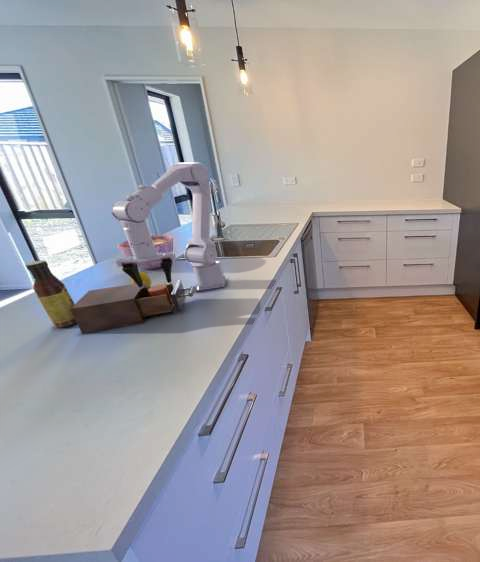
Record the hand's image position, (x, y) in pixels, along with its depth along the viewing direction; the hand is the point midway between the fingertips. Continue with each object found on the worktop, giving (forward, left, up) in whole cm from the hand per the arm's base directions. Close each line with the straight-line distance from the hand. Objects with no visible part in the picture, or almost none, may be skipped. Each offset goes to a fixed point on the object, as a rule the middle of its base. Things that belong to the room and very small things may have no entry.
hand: (155, 283), depth 94 cm
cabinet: (+12, 0, -9) cm, 15 cm away
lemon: (+10, -20, -10) cm, 24 cm away
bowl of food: (+13, -50, -10) cm, 53 cm away
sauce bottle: (+26, -3, -10) cm, 28 cm away
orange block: (0, 0, -7) cm, 7 cm away
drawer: (-1, 0, -8) cm, 9 cm away
